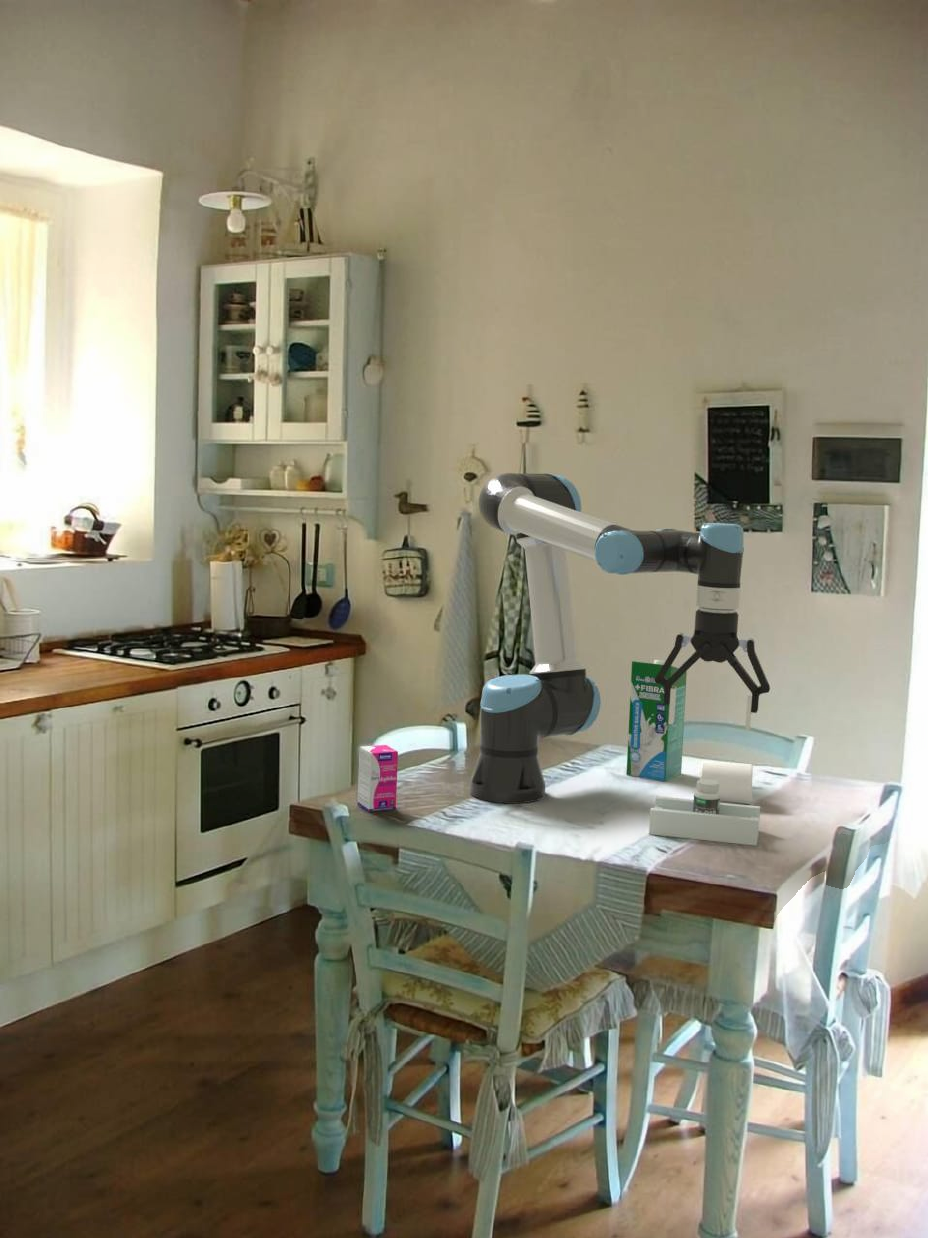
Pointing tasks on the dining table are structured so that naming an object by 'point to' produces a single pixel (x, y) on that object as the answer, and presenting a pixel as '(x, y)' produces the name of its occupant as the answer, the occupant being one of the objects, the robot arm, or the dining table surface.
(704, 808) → the pill bottle
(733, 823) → the tray
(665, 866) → the dining table surface
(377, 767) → the supplement box
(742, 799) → the mug
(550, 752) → the dining table surface
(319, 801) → the dining table surface
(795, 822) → the dining table surface
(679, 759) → the milk carton
